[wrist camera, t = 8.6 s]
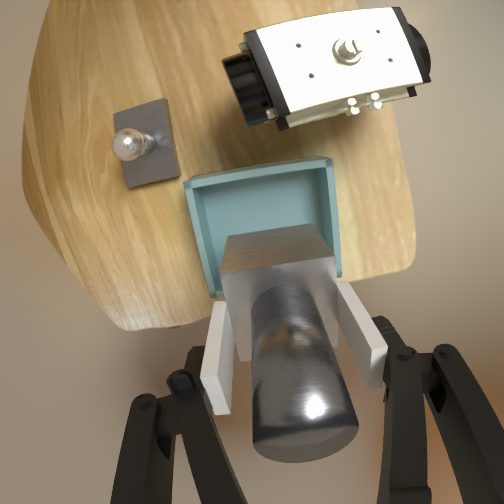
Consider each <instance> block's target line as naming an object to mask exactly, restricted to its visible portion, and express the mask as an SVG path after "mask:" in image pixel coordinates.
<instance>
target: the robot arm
mask: <svg viewBox="0 0 504 504" xmlns="http://www.w3.org/2000/svg"><path fill="white" fill-rule="evenodd" d="M337 306H338V324H339V326H340V328H341V331H342V333H343V335H344V337H345V340H346V342H347V344H348V346H349V348H350V351H351V353H352V356H353V358H354V360H355V363H356V365H357V367H358V370H359V372H360V375H361V377H362V379H363V382H364V384H365V387H366V389H367V391H371V390H375V389H379V388H382V384H383V381H384V382H385V384H386V390H385V395H384V400H383V402H385V417H384V419H385V420H384V438H383V452H382V465H381V474H380V482H379V491H378V498H377V504H431V499H432V497H431V496H432V494H431V488H429V487H428V485H427V435H426V419H425V407H424V397H423V393H424V394H425V397H426V399H427V402H428V404H429V406H430V409H431V411H432V414H433V416H434V419H435V421H436V424H437V426H438V429H439V432H440V434H441V437H442V440H443V442H444V445H445V447H446V450H447V453H448V456H449V459H450V462H451V465H452V468H453V470H454V474H455V477H456V480H457V483H458V487H459V490H460V493H461V497H462V500H463V503H464V504H504V429H503V427H502V425H501V423H500V421H499V420H498V418H497V416H496V414H495V412H494V410H493V408H492V407H491V405H490V403H489V401H488V399H487V398H486V396H485V394H484V392H483V391H482V389H481V387H480V385H479V384H478V382H477V380H476V379H475V377H474V375H473V374H472V372H471V370H470V369H469V367H468V366H467V364H466V362H465V361H464V359H463V358H462V356H461V355H460V353H459V352H458V350H457V349H456V348H455V347H454V346H452V345H450V344H440V345H438V346H436V347H435V348H434V351H433V353H417V351H416V350H415V349H414V348H411V347H409V346H406V345H405V343H404V342H403V341H402V339H401V337H400V336H399V334H398V333H397V331H395V329H394V327H393V326H392V324H391V323H390V321H389V320H388V319H386V318H385V317H383V316H378V317H374V318H370V316H369V314H368V313H367V311H366V309H365V308H364V306H363V305H362V303H361V302H360V300H359V298H358V297H357V295H356V294H355V292H354V291H353V289H352V287H351V286H350V284H349V283H348V281H341V282H337ZM234 346H235V337H234V333H233V329H232V325H231V321H230V317H229V313H228V309H227V305H226V301H225V300H223V301H216V302H214V305H213V310H212V316H211V321H210V326H209V331H208V337H207V341H206V346H196V347H193V348H192V349H191V350H190V351H189V352H188V355H187V359H186V360H187V361H186V363H185V367H184V369H181V370H177V371H175V372H173V373H172V374H170V375H169V377H168V378H167V385H168V387H169V389H170V391H171V393H172V394H171V395H168V396H166V397H162V398H158V399H157V398H156V397H155V396H154V395H152V394H148V393H146V394H141V395H139V396H137V397H136V398H135V399H134V400H133V402H132V404H131V408H130V412H129V416H128V420H127V424H126V428H125V433H124V437H123V441H122V446H121V450H120V455H119V460H118V464H117V470H116V475H115V479H114V485H113V490H112V496H111V502H110V504H172V482H173V466H174V451H175V439H176V435H178V434H182V438H183V442H184V446H185V450H186V453H187V457H188V461H189V464H190V468H191V471H192V475H193V478H194V481H195V485H196V488H197V491H198V494H199V497H200V500H201V503H202V504H248V503H247V501H246V498H245V496H244V494H243V492H242V490H241V487H240V485H239V483H238V480H237V478H236V476H235V473H234V471H233V469H232V466H231V464H230V462H229V459H228V456H227V454H226V451H225V449H224V446H223V444H222V441H221V439H220V436H219V434H218V431H217V428H216V425H215V423H214V420H213V418H212V410H213V411H214V413H215V415H225V414H231V397H232V380H233V362H234Z"/></svg>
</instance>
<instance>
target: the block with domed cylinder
mask: <svg viewBox="0 0 504 504" xmlns="http://www.w3.org/2000/svg"><path fill="white" fill-rule="evenodd" d="M219 275H220V279H221V284H222V288H223V292H224V297H225V301H226V305H227V309H228V313H229V317H230V321H231V325H232V329H233V333H234V337H235V343H236V347H237V352H238V356H239V359H240V362H244V361H252V423H253V424H252V427H253V446H254V448H255V450H256V451H257V452H258V453H259V454H260V455H262V456H264V457H265V458H268V459H271V460H273V461H278V462H285V463H302V462H309V461H314V460H318V459H322V458H324V457H327V456H330V455H332V454H334V453H336V452H338V451H340V450H341V449H342V448H344V447H345V446H346V445H348V444H349V443H350V442H351V441H352V440H353V439H354V437H355V436H356V434H357V432H358V429H359V423H358V420H357V417H356V414H355V410H354V408H353V405H352V402H351V399H350V396H349V393H348V390H347V387H346V384H345V381H344V379H343V376H342V373H341V370H340V367H339V364H338V362H337V359H336V356H335V353H334V350H333V348H335V347H338V306H337V273H336V256H335V254H334V253H333V251H332V250H331V249H330V247H329V246H328V244H327V243H326V242H325V240H324V239H323V238H322V236H321V235H320V233H319V232H318V231H317V229H316V228H315V227H314V225H313V224H312V223H309V224H302V225H295V226H289V227H282V228H275V229H269V230H262V231H255V232H249V233H243V234H236V235H230V236H227V241H226V245H225V250H224V254H223V259H222V263H221V268H220V273H219Z"/></svg>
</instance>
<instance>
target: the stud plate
mask: <svg viewBox="0 0 504 504" xmlns="http://www.w3.org/2000/svg"><path fill="white" fill-rule="evenodd" d="M113 117H114V123H115V129H116V135H115V136H114V138H113V140H112V151H113V153H114V155H115V156H116V157H117V158H118V159H120V160H122V165H123V170H124V175H125V179H126V184H127V188H131V187H134V186H138V185H142V184H147V183H151V182H155V181H159V180H163V179H168V178H172V177H177V176H180V175H181V171H180V166H179V161H178V156H177V151H176V146H175V141H174V135H173V130H172V124H171V119H170V113H169V107H168V101H167V99H164V98H163V99H160V100H156V101H153V102H149V103H146V104H143V105H139V106H136V107H133V108H130V109H127V110H124V111H121V112H118V113H115V114H113Z"/></svg>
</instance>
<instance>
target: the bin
mask: <svg viewBox="0 0 504 504" xmlns="http://www.w3.org/2000/svg"><path fill="white" fill-rule="evenodd" d="M183 183H184V188H185V193H186V197H187V202H188V206H189V211H190V215H191V220H192V224H193V229H194V233H195V237H196V242H197V246H198V250H199V254H200V258H201V263H202V267H203V271H204V275H205V279H206V283H207V287H208V290H209V294H210V298H215V297H222V296H224V292H223V288H222V284H221V279H220V275H219V273H220V268H221V263H222V259H223V254H224V250H225V245H226V241H227V236H230V235H236V234H243V233H249V232H255V231H262V230H269V229H275V228H282V227H289V226H295V225H302V224H309V223H312V224H313V225H314V227H315V228H316V229H317V231H318V232H319V233H320V235H321V236H322V238H323V239H324V240H325V242H326V243H327V244H328V246H329V247H330V249H331V250H332V251H333V253H334V254H335V256H336V273H337V278H340V277H342V265H341V247H340V232H339V220H338V208H337V197H336V188H335V178H334V170H333V162H332V159H331V158H327V157H322V156H315V157H306V158H298V159H291V160H284V161H277V162H270V163H263V164H257V165H251V166H245V167H239V168H233V169H228V170H222V171H217V172H212V173H207V174H201V175H197V176H193V177H191V178H190V179H188V180H187V181H185V182H183Z"/></svg>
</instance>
